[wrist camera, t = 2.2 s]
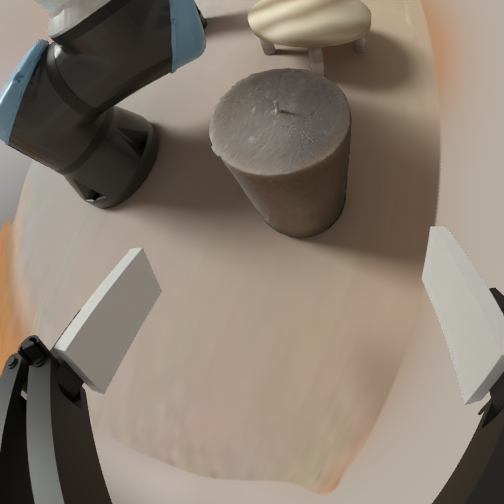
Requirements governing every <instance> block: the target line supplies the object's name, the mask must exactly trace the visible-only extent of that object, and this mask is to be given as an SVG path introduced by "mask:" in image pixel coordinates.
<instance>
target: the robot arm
mask: <svg viewBox="0 0 504 504" xmlns="http://www.w3.org/2000/svg"><path fill="white" fill-rule="evenodd" d="M35 1H36V2H37V3H38V4H39V5H41V6H42V7H43V8H44V9H45V10H46V11H47V12H48V13H49V16H50V20H49V26H48V36H49V37H50V38H51V39H52V40H53V41H54V42H52V43H51V44H50V45H49V42H48V41H45V40H42V39H41V40H38V41H37V42H36V43H35V44H34V45H33V46H32V47H31V48H30V49H29V50H28V52H27V53H26V54H25V56H24V57H23V58H22V60H21V61H20V62H19V64H18V65H17V67H16V68H15V70H14V71H13V73H12V74H11V76H10V77H9V79H8V81H7V82H6V84H5V86H4V87H3V89H2V91H1V93H0V139H1V140H3V141H4V142H5V144H6V145H8V146H10V147H12V148H14V149H16V150H18V151H19V152H21V153H23V154H25V155H27V156H29V157H30V158H32V159H34V160H36V161H38V162H40V163H42V164H43V165H45V166H47V167H49V168H51V169H53V170H55V171H56V172H58V173H60V174H62V175H63V176H64V177H65V178H66V180H67V181H68V182H69V183H70V185H71V186H72V187H73V188H74V190H75V191H76V192H77V193H78V194H79V196H80V197H81V198H82V199H83V200H85V201H86V202H88V203H90V204H92V205H94V206H96V207H99V208H108V207H112V206H115V205H117V204H119V203H121V202H122V201H124V200H125V199H127V198H128V197H129V196H130V195H132V194H133V193H134V192H135V191H136V190H137V189H138V187H139V186H140V185H141V184H142V182H143V181H144V180H145V178H146V177H147V175H148V174H149V172H150V170H151V168H152V166H153V164H154V161H155V158H156V155H157V150H158V136H157V132H156V130H155V129H154V127H153V126H152V125H151V124H150V123H149V122H148V121H147V120H146V119H145V118H143V117H142V116H140V115H138V114H135V113H133V112H130V111H127V110H125V109H122V108H120V107H117V106H114V105H116V104H117V103H119V102H120V101H122V100H123V99H125V98H127V97H128V96H130V95H131V94H133V93H135V92H136V91H138V90H140V89H141V88H143V87H145V86H146V85H148V84H150V83H152V82H153V81H155V80H157V79H159V78H161V77H162V76H164V75H166V74H168V73H171V74H172V73H174V72H175V71H176V70H177V69H178V68H180V67H181V66H183V65H185V64H187V63H189V62H191V61H193V60H195V59H197V58H198V57H199V56H201V55H202V53H203V52H204V50H205V48H206V38H205V34H204V30H203V26H202V23H201V20H200V17H199V14H198V11H197V8H196V5H195V2H194V0H35ZM422 281H423V283H424V286H425V288H426V290H427V292H428V295H429V297H430V300H431V302H432V305H433V307H434V310H435V312H436V315H437V318H438V320H439V323H440V325H441V328H442V331H443V334H444V337H445V340H446V343H447V346H448V349H449V351H450V355H451V358H452V361H453V365H454V368H455V372H456V375H457V379H458V383H459V387H460V391H461V395H462V399H463V403H464V405H466V404H470V403H473V402H476V401H479V400H482V399H483V398H484V396H485V395H486V394H487V393H488V392H489V391H490V395H491V399H490V400H489V401H488V402H487V403H486V405H485V406H484V407H483V408H482V409H481V410H480V412H479V413H478V414H479V415H481V414H482V413H483V412H484V414H483V416H482V418H481V420H480V423H479V425H478V427H477V429H476V432H475V433H474V435H473V438H472V440H471V442H470V443H469V445H468V447H467V449H466V451H465V453H464V455H463V457H462V459H461V460H460V462H459V464H458V465H457V467H456V469H455V471H454V472H453V474H452V475H451V477H450V478H449V480H448V482H447V483H446V485H445V486H444V488H443V489H442V491H441V492H440V493H439V495H438V496H437V498H436V499H435V500H434V502H433V503H432V504H504V296H503V295H502V294H501V293H500V292H499V291H498V290H497V289H496V288H490V289H489V288H488V287H487V285H486V283H485V282H484V280H483V279H482V277H481V276H480V274H479V272H478V271H477V269H476V268H475V266H474V265H473V263H472V262H471V260H470V259H469V257H468V256H467V255H466V253H465V252H464V250H463V249H462V247H461V246H460V245H459V243H458V242H457V241H456V239H455V238H454V237H453V235H452V234H451V233H450V231H449V230H448V229H447V227H446V226H432V227H430V233H429V240H428V246H427V252H426V258H425V264H424V269H423V274H422ZM161 292H162V290H161V288H160V286H159V284H158V281H157V279H156V277H155V275H154V273H153V270H152V268H151V266H150V264H149V261H148V259H147V257H146V254H145V252H144V250H143V248H133V249H130V250H129V251H128V253H127V254H126V255H125V256H124V257H123V258H122V260H121V261H120V262H119V263H118V264H117V265H116V267H115V268H114V269H113V270H112V271H111V273H110V274H109V275H108V276H107V277H106V279H105V280H104V281H103V282H102V283H101V285H100V286H99V287H98V288H97V290H96V291H95V292H94V293H93V295H92V296H91V297H90V299H89V300H88V301H87V302H86V304H85V305H84V306H83V308H82V309H81V310H79V312H78V313H77V314H76V316H75V317H74V318H73V321H71V322H70V324H69V325H68V327H67V328H66V329H65V331H64V332H63V333H62V335H61V336H60V338H59V339H58V340H57V342H56V343H55V345H54V346H53V348H52V349H51V350H50V351H49V350H48V349H47V348H46V346H45V345H44V344H43V343H42V341H41V340H40V339H39V338H38V336H36V335H33V336H30V337H28V338H27V339H25V340H24V341H23V342H22V343H21V345H20V347H19V349H18V353H15V354H12V355H11V356H10V357H9V358H8V360H7V361H6V363H5V366H4V369H3V372H2V375H1V378H0V504H112V502H111V499H110V496H109V493H108V490H107V487H106V484H105V480H104V477H103V474H102V470H101V467H100V463H99V459H98V455H97V451H96V447H95V442H94V438H93V433H92V428H91V423H90V417H89V411H88V405H87V398H86V392H85V389H84V388H83V387H82V385H83V383H84V382H85V383H86V384H87V385H88V386H89V387H90V388H91V389H92V390H94V391H97V392H99V393H102V394H105V392H106V390H107V388H108V386H109V384H110V382H111V380H112V378H113V376H114V374H115V373H116V371H117V369H118V367H119V365H120V363H121V361H122V360H123V358H124V356H125V354H126V352H127V350H128V349H129V347H130V345H131V343H132V341H133V340H134V338H135V336H136V334H137V333H138V331H139V329H140V327H141V326H142V324H143V322H144V320H145V319H146V317H147V315H148V313H149V312H150V310H151V308H152V307H153V305H154V303H155V302H156V300H157V298H158V297H159V295H160V293H161ZM22 390H23V391H24V392H25V393H26V394H27V400H25V399H24V398H23V397H22V396H21V391H22Z"/></svg>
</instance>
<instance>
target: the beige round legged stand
mask: <svg viewBox="0 0 504 504" xmlns="http://www.w3.org/2000/svg"><path fill="white" fill-rule="evenodd" d="M248 22H249V24H250V27H251V30H252V31H253V33H254V34H255V35H256V36H258V37H259V38H260V41H261V44H262V47H263V50H264V53H265V54H266V55H272V54H274V53H275V52H276V51H275V47H274V44H278V45H283V46H290V47H304V48H308V54H309V60H310V67H311V72H314V73H317V74H319V75H321V76H324V77H325V73H324V63H323V53H322V47H328V46H336V45H341V44H345V43H349V42H352V41H354V50H355V51H357V52H365V50H366V33H367V32H368V31H369V29H370V27H371V12H370V10H369V8H368V7H367V6H366V5H365V4H364V3H363V2H361V1H360V0H261V1H259V2H258V3H257V4H255V5H254V6H253V7H252V8H251V10H250V11H249V13H248ZM273 43H274V44H273Z"/></svg>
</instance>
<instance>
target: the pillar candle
mask: <svg viewBox="0 0 504 504" xmlns="http://www.w3.org/2000/svg"><path fill="white" fill-rule="evenodd" d="M209 130H210V133H209V136H210V139H211V142H212V146H211V148H212V149H213V152H214V153H215V154H216V155H217V156H220V157H221V159H222V160H223V162H224V163H225V165H226V166H227V168H228V169H229V170H230V171H231V173H232V174H233V176H234V177H235V178H236V180H237V181H238V183H239V184H240V186H241V187H242V189H243V190H244V192H245V194H246V195H247V196H248V198H249V200H250V201H251V202H252V204H253V205H254V206H255V208H256V209H257V211H258V212H259V213H260V214H261V216H262V217H263V219H264V220H265V222H266V223H267V224H268V225H269V226H271V227H272V228H273V229H275V230H276V231H278V232H280V233H282V234H285V235H288V236H290V237H309V236H314V235H317V234H319V233H322V232H324V231H325V230H327V229H328V228H330V227H331V226H332V225H333V224H334V223H335V221H336V220H337V219H338V218H339V217H340V215H341V213H342V211H343V208H344V205H345V200H346V193H345V191H346V185H347V173H348V172H347V171H348V162H349V151H350V137H351V112H350V107H349V104H348V102H347V100H346V97H345V95H344V93H343V92H342V91H341V90H340V88H339V87H338V86H336V85H335V84H334V83H333V82H332V81H330V80H329V79H327V78H325V77H324V76H321V75H319V74H317V73H314V72H311V71H308V70H303V69H291V68H285V69H272V70H269V71H264V72H261V73H255V74H252V75H250V76H248V78H245V79H242V80H241V81H239V82H237V83H236V85H235V86H232V88H231V90H229V91H228V93H226V94H225V95H224V96H222V97H221V98H220V102H219V103H218V104H217V105H216V106H215V108H214V112H213V114H212V118H211V121H210V129H209Z"/></svg>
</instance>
